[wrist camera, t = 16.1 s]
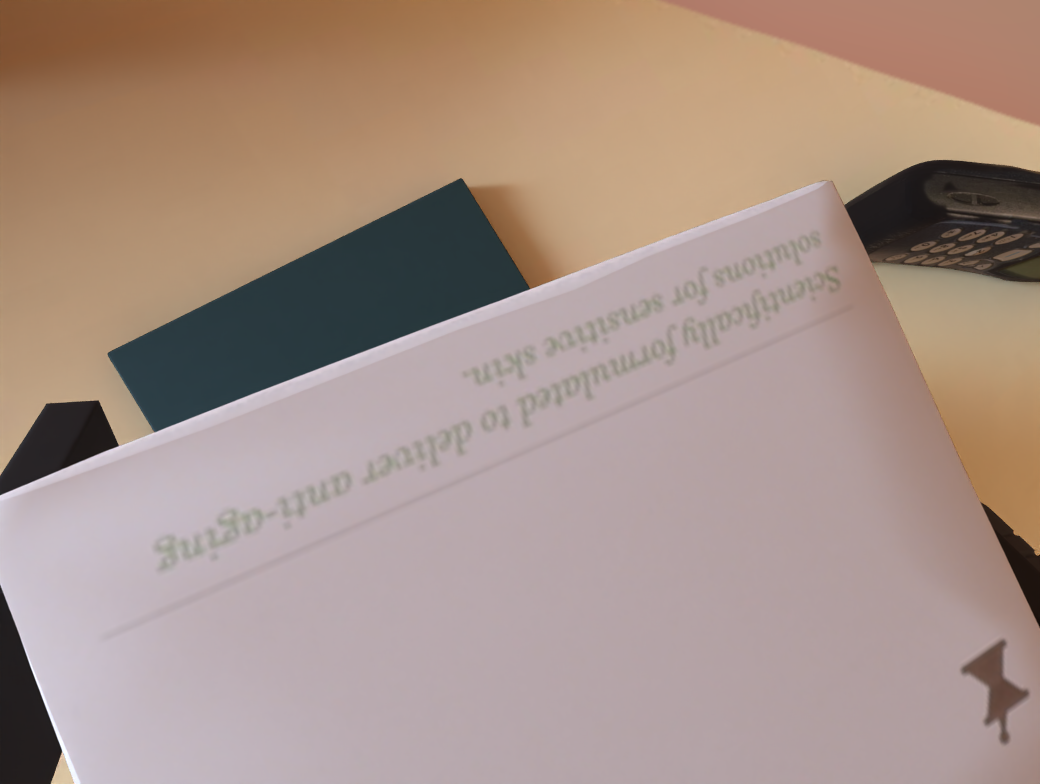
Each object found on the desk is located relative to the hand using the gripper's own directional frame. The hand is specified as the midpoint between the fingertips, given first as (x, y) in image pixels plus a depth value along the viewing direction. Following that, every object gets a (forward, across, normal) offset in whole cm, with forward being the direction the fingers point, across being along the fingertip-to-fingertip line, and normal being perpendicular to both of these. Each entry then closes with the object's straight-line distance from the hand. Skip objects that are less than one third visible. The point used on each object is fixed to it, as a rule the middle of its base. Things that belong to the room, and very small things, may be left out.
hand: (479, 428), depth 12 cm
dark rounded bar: (+11, +24, -2) cm, 27 cm away
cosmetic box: (+4, 0, -8) cm, 9 cm away
